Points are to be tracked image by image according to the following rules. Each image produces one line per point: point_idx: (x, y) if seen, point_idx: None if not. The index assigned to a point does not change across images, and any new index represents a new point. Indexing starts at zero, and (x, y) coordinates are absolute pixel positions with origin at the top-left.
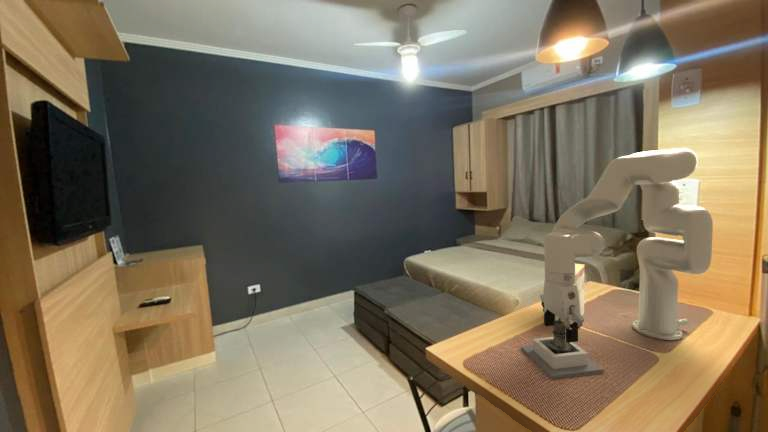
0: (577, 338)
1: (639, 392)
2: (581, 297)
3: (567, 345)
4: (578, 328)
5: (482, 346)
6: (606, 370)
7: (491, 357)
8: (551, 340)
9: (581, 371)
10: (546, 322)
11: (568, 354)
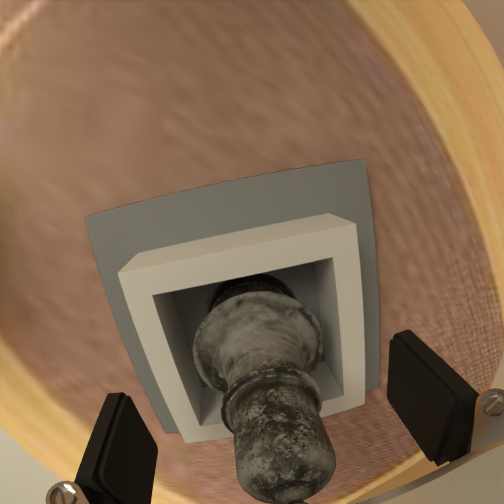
0: (418, 342)
1: (456, 115)
2: None
3: (283, 322)
4: (498, 397)
5: (165, 498)
6: (338, 131)
7: (232, 493)
8: (176, 361)
9: (374, 270)
10: (152, 467)
11: (355, 338)
